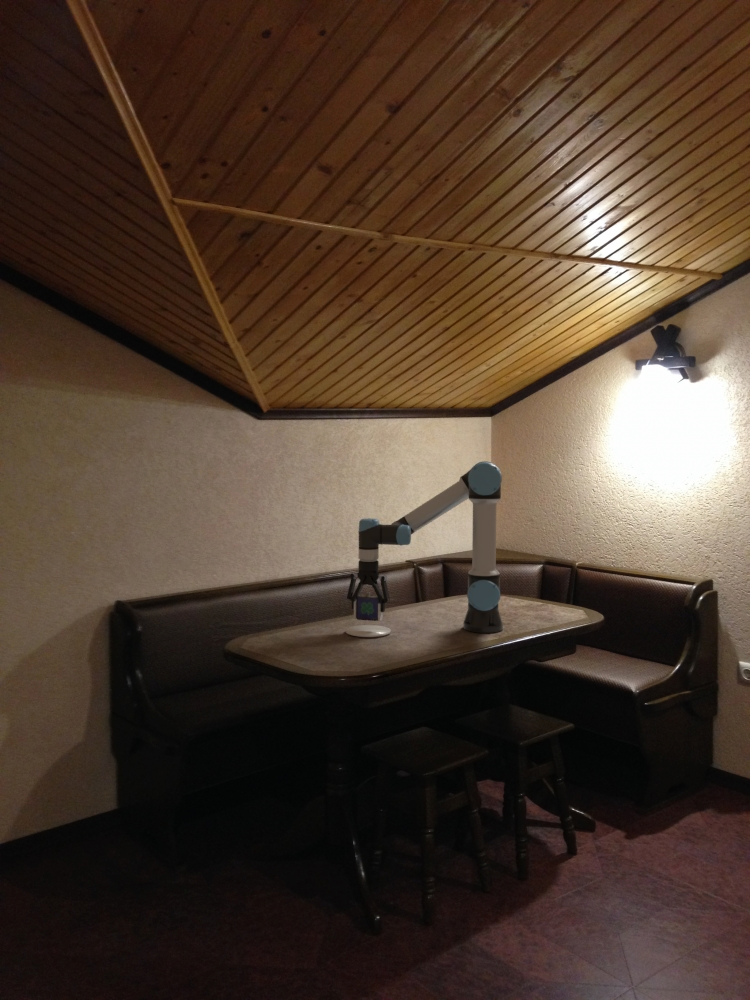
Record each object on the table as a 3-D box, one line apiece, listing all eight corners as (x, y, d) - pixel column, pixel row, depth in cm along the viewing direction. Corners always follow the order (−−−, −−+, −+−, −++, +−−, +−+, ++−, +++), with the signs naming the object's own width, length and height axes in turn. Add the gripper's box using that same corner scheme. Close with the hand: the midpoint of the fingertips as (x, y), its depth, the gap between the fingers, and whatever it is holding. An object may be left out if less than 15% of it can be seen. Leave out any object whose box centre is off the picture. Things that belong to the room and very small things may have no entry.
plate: (397, 630, 315) (397, 627, 315) (380, 640, 299) (380, 637, 299) (356, 626, 322) (356, 623, 321) (338, 636, 306) (338, 632, 306)
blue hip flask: (381, 619, 310) (381, 591, 310) (378, 621, 308) (378, 593, 307) (357, 618, 313) (357, 590, 312) (355, 619, 310) (355, 591, 309)
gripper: (399, 560, 308) (398, 619, 310) (345, 557, 316) (345, 614, 318) (392, 563, 301) (391, 623, 303) (337, 559, 309) (337, 618, 311)
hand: (368, 619), depth 310 cm, fingers closed on blue hip flask, 9 cm apart
